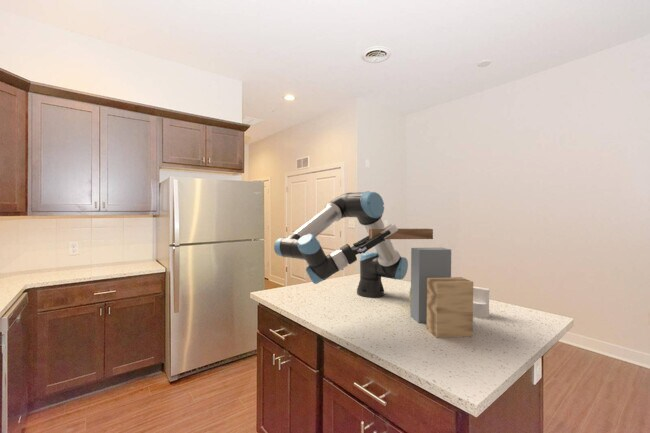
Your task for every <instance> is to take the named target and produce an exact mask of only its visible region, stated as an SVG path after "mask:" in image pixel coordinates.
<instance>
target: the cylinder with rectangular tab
mask: <svg viewBox="0 0 650 433" xmlns="http://www.w3.org/2000/svg"><path fill="white" fill-rule="evenodd" d="M489 317H490V288H487V287H480V286H474V285H473V318H478V319H487V318H489Z"/></svg>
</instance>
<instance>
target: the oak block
mask: <svg viewBox="0 0 650 433" xmlns="http://www.w3.org/2000/svg"><path fill="white" fill-rule="evenodd" d="M473 286H474V281H472V280H470V279H467V278H464V277H460V276H459V277H454V276H453V277H452V276H451V277H449V278H427V323H426V330H427V331H428V332H429V333H430V334H432V335H433V336H434V337H435V338H436V339H440V338H441V339H443V338H458V337H459V338H461V337H463V338H464V337H473V336H474V328H473V327H474V317H473Z"/></svg>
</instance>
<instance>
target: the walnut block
mask: <svg viewBox="0 0 650 433" xmlns="http://www.w3.org/2000/svg"><path fill="white" fill-rule="evenodd" d="M397 229H398V231H396V232H395V233H393V234H391V235H390V236H388V237H386V238H385V239H390V240H433V239H434V229H433V228H397ZM384 230H385V229H369V234H368V236H369V239H371V238H373V237H375V236H376V235H378V234H380V232H382V231H384Z"/></svg>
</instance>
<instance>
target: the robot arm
mask: <svg viewBox="0 0 650 433" xmlns="http://www.w3.org/2000/svg"><path fill="white" fill-rule="evenodd" d="M384 210H385V203H384V200H383V197H382V196H381V195H380V193H378V192H376V191H363V192H361V191H360V192H358V191H357V192H346V193H342V194H340V195H339V196H337V197H335V198H333V199H332V200H331V201H329V202H328V203H326V205H325V206H324V208H323V209H322V210H321V211H320V212H318V213H317V214H315V215H314V216H313V217H312V218H310V219H309V220H308V221H307V222H305V223H304V224H302V225H301V226H300V227H299V228H298V229H296V230H295V231H294V232H292V233H291V234H289V235H288V236H287V237H280V238H278V239H276V240H275V242H274V245H273V250H274V252H275V254H276V255H277V256H279V257H283V258H290V259H296V260H297V259H298V260H303V261H305V262H306V263H307V265H308V266H307V267H305V271H306V273H307V275H308V277H309V278H310V281H311V282H312V284H314V285H317V284H319V283H321V282H324V281H326V280H327V279H328V278H330V277H331V276H332V275H335V274H336V273H337V272H340V271H344V268H347V267H348V265H352V264H353V263H356V261H357V259H358V258H357V256H356V255H360V260H359V264H360V265H359V267H360V269H359V271H360V272H359V275H360V276H359V277H360V278H359V281H358V282H359V283H358V285H357V288H356V294H357V295H358V296H361V297H364V298H380V297H383V296H385V288H384V285H383V282H382V278H386V279H391V280H399V281H400V280H403V279H404V278H405V277H406V275H407V272H408V269H409V268H408V267H409V263H408V262H409V261H408V259H407V258H406V257H404V256H401V254H400V252H399V251H398V250H397V249H395V248H394V246H393V243H392V241H391V240H392V239H385V238H386V237H388V236H390V235H391V234H393V233H395V232H396V231H398V229H399V228H398V227H397V225H396V223H395V224H391V223H389V224H387V225H386V226H385V224H384V222H383V220H382V217H383V214H384V212H385V211H384ZM344 218H356V219H357V221H358V223H359V224H360V225H362V226H364V228H365V230H366V232H367V233H368V234H367V236H365V237H363V238H362V239H360V240H358V241H357V242H354V243H353V244H352V246H350V244H348V243H346V244H344V245H342V246H341V247H339V249H338V248H337V249H336V250H334V251H332V252H330V253H329V254H327V255H326V253H325V252H324V249H323V247H322V246H321V243H320V241H319V240H318V238H317V237H318V236H320V234H322V233H323V232H324V231H325V230H326V229H328V228H329V227H330V226H331V225H333V223H335V222H340V221H341V219H344ZM369 229H385V230H384V231H382V232H380V234H378V235H376V236H375V237H373V238H371V239H369ZM372 248H374V249H375V251H374V252H373V251H372V252H371V251H370V252H368V251H369V250H371V249H372Z"/></svg>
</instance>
